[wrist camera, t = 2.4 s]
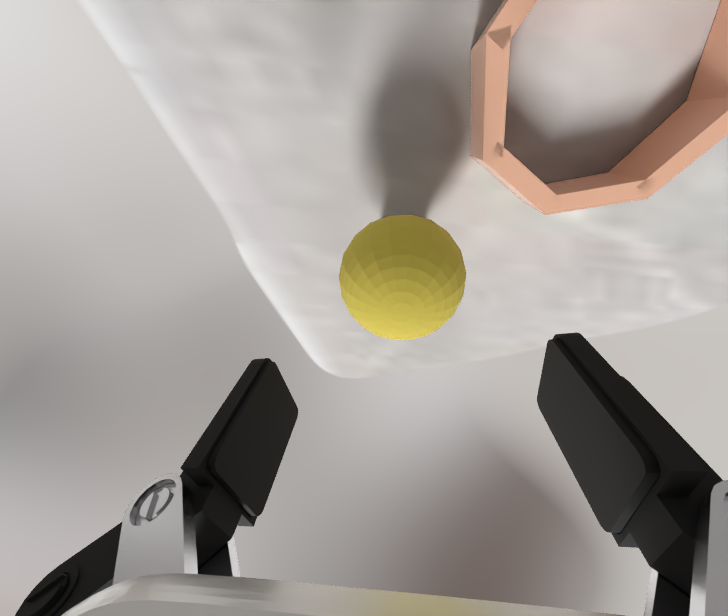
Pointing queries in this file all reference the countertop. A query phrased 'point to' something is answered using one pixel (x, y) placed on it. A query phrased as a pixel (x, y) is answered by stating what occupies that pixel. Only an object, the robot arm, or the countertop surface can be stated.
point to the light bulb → (402, 277)
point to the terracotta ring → (636, 170)
